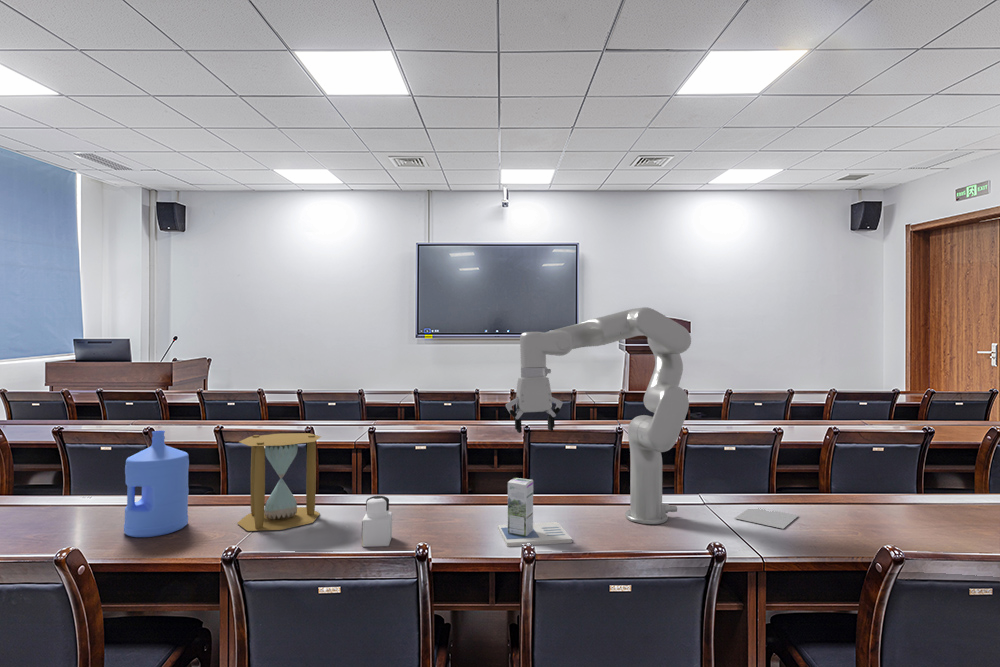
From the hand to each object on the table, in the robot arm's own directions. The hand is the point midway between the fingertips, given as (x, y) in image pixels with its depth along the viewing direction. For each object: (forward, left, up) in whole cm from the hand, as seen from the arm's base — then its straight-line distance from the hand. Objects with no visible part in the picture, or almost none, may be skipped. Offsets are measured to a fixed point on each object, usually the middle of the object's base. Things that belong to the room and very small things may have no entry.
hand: (534, 431), depth 160 cm
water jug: (+108, -16, -28) cm, 113 cm away
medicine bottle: (+45, +5, -28) cm, 53 cm away
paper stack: (-73, +10, -29) cm, 79 cm away
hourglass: (+75, -19, -28) cm, 82 cm away
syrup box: (+6, +7, -27) cm, 29 cm away
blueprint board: (+2, +7, -28) cm, 29 cm away
